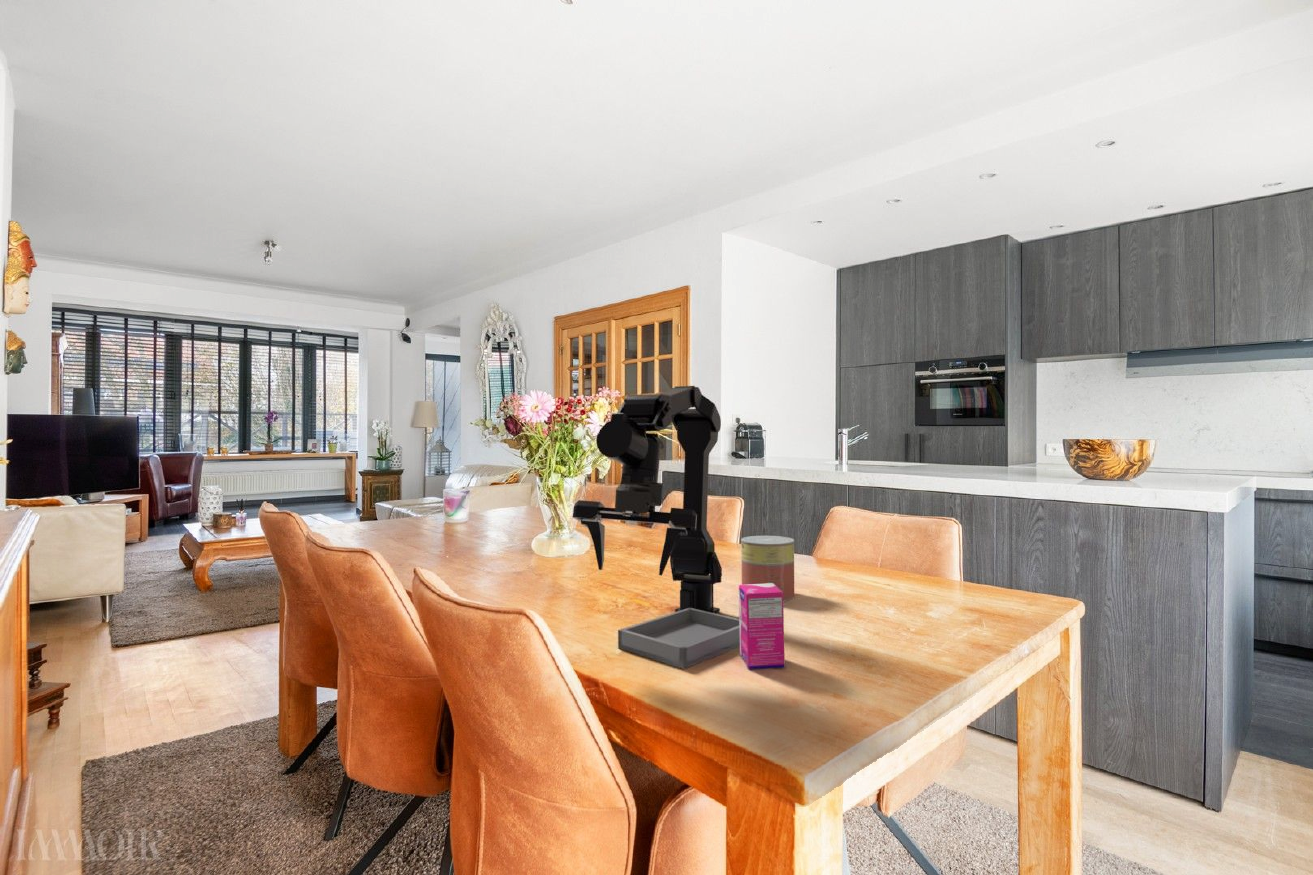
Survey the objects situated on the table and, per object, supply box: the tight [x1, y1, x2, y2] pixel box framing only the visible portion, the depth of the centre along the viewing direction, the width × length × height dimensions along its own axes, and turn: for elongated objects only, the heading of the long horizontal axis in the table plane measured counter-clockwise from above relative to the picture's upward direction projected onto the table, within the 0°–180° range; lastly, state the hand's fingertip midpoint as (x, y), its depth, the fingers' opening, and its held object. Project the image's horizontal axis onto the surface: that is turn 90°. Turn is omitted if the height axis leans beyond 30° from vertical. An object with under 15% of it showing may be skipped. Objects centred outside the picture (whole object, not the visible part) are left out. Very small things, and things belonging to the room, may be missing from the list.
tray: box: [617, 608, 740, 670], centre depth 109 cm, size 18×14×3 cm
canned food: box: [740, 534, 796, 603], centre depth 140 cm, size 11×11×12 cm
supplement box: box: [738, 583, 786, 670], centre depth 100 cm, size 6×6×12 cm
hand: (630, 572), depth 100 cm, fingers open, 9 cm apart
